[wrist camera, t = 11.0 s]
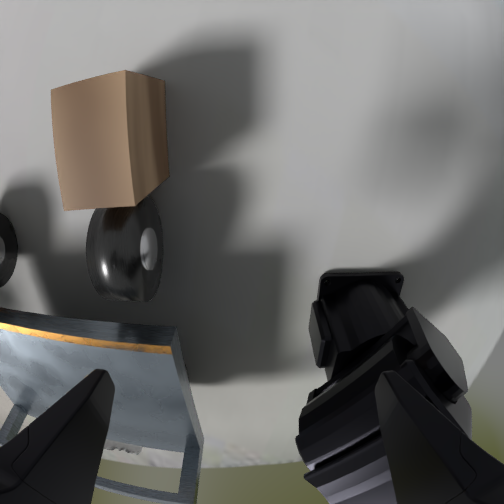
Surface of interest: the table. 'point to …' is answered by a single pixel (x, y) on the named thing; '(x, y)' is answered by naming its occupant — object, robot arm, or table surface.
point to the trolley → (107, 350)
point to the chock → (110, 139)
